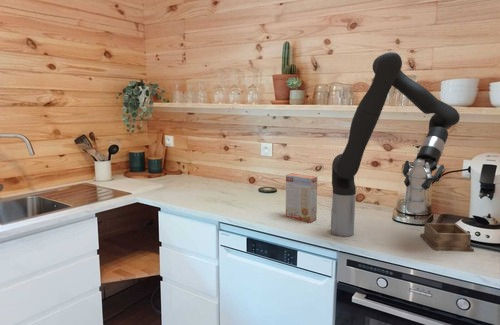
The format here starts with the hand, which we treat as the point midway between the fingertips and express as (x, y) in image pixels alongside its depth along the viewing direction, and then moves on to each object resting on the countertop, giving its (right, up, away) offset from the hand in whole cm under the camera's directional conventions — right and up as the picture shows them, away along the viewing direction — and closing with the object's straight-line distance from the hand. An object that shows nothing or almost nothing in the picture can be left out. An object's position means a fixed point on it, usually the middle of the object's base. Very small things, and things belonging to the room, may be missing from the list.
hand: (415, 186), depth 129 cm
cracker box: (-36, -18, +40) cm, 57 cm away
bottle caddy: (+16, -23, +9) cm, 29 cm away
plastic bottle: (+1, -10, +3) cm, 11 cm away
